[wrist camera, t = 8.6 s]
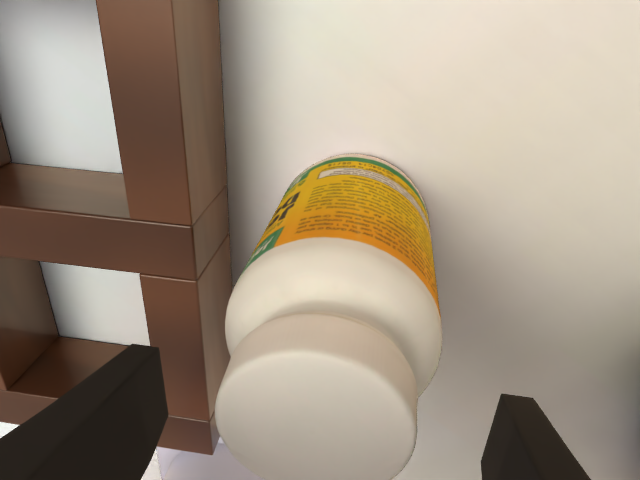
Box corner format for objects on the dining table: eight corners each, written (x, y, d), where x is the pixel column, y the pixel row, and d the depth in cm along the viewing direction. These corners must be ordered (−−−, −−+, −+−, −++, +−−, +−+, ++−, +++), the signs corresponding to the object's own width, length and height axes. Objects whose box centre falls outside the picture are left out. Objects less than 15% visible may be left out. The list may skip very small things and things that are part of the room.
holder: (237, 392, 23) (212, 456, 20) (29, 362, 24) (-24, 418, 21) (213, -97, 14) (161, -118, 11) (-120, -110, 15) (-253, -131, 12)
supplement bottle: (404, 297, 19) (406, 546, 11) (271, 262, 19) (172, 483, 11) (450, 169, 16) (499, 371, 8) (295, 131, 17) (188, 290, 8)
